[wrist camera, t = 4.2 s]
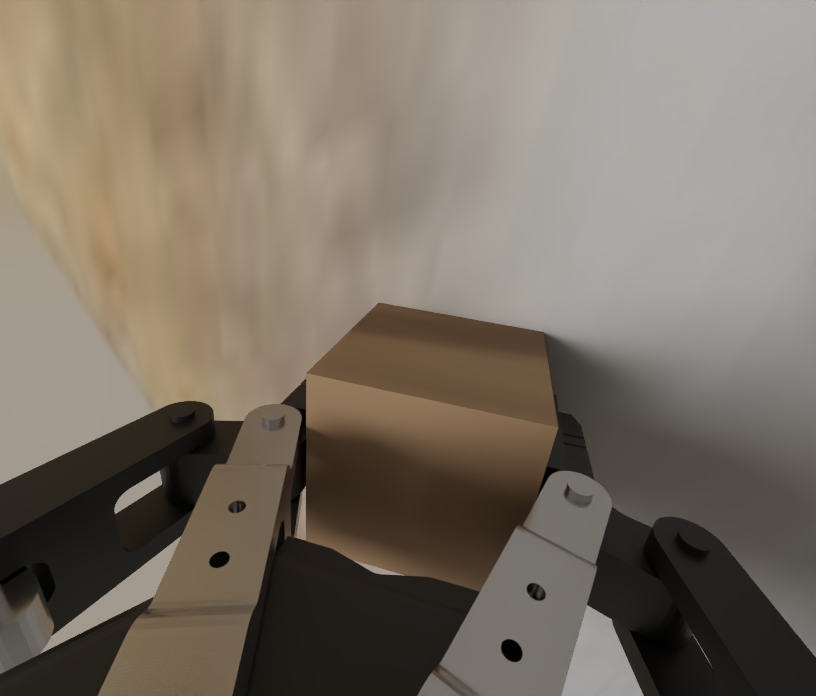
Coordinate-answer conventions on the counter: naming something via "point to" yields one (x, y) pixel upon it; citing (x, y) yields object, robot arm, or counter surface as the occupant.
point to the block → (427, 442)
